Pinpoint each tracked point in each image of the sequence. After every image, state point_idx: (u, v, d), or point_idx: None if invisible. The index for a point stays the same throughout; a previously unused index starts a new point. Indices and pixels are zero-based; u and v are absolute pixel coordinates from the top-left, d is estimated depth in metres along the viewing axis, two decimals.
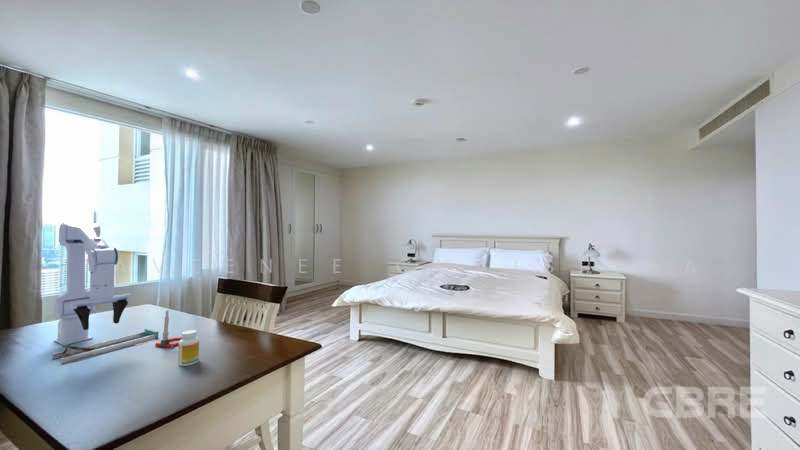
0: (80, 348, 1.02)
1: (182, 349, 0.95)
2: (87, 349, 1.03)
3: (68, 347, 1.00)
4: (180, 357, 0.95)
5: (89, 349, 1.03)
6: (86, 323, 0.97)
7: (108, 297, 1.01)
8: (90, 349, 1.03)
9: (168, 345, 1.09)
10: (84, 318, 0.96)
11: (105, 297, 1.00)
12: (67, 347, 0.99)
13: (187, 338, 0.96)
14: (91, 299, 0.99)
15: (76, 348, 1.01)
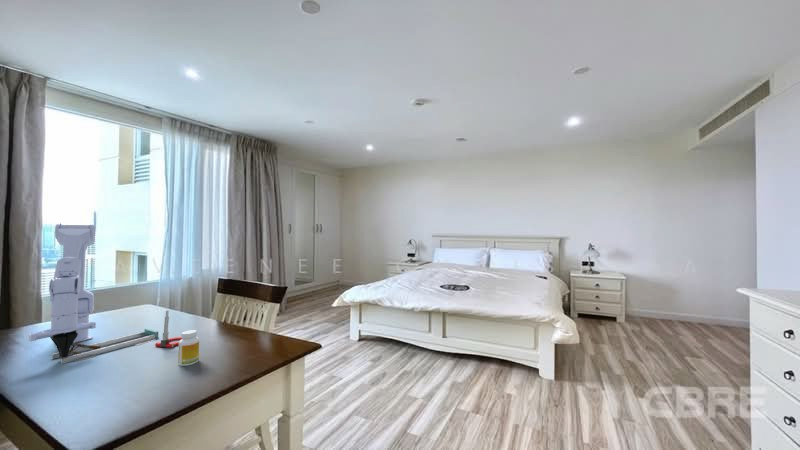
0: (87, 346, 1.03)
1: (182, 349, 0.95)
2: (93, 347, 1.04)
3: (75, 345, 1.01)
4: (180, 357, 0.95)
5: (95, 347, 1.05)
6: (62, 351, 0.97)
7: (70, 327, 0.98)
8: (96, 347, 1.05)
9: (168, 345, 1.09)
10: (60, 346, 0.97)
11: (67, 327, 0.97)
12: (74, 345, 1.01)
13: (187, 338, 0.96)
14: (52, 330, 0.96)
15: (83, 346, 1.02)
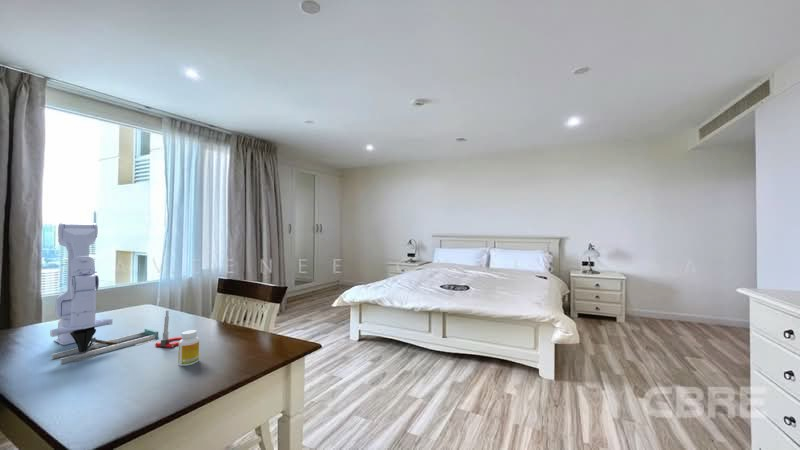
0: (104, 342, 1.07)
1: (182, 349, 0.95)
2: (110, 343, 1.08)
3: (93, 341, 1.05)
4: (180, 357, 0.95)
5: (112, 343, 1.08)
6: (82, 346, 1.01)
7: (89, 323, 1.02)
8: (113, 343, 1.08)
9: (168, 345, 1.09)
10: (80, 342, 1.01)
11: (86, 323, 1.01)
12: (92, 340, 1.05)
13: (187, 338, 0.96)
14: (72, 326, 1.00)
15: (100, 342, 1.06)
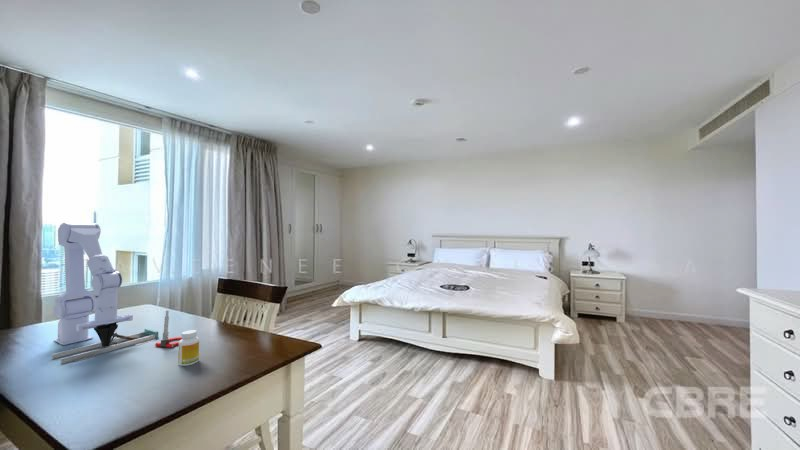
0: (124, 337, 1.11)
1: (182, 349, 0.95)
2: (130, 338, 1.12)
3: (114, 335, 1.10)
4: (180, 357, 0.95)
5: (132, 339, 1.13)
6: (105, 341, 1.06)
7: (111, 319, 1.07)
8: (133, 339, 1.13)
9: (168, 345, 1.09)
10: (103, 336, 1.06)
11: (109, 319, 1.06)
12: (114, 335, 1.10)
13: (187, 338, 0.96)
14: (96, 321, 1.05)
15: (121, 337, 1.11)
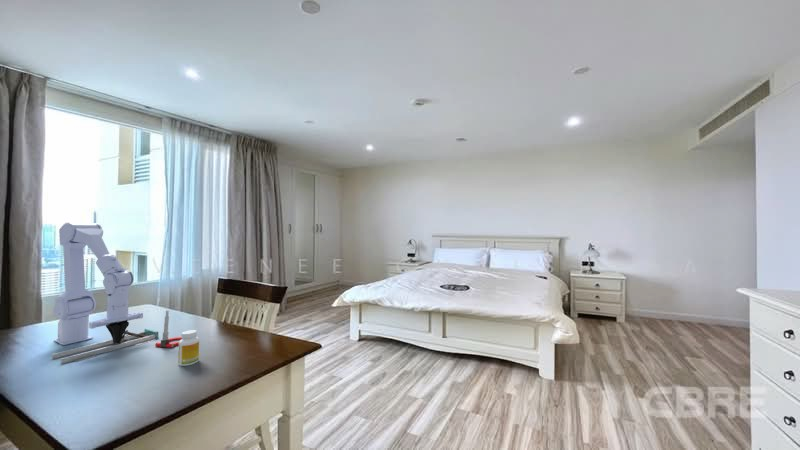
0: (135, 334, 1.14)
1: (182, 349, 0.95)
2: (141, 336, 1.15)
3: (125, 333, 1.13)
4: (180, 357, 0.95)
5: (142, 336, 1.15)
6: (117, 338, 1.09)
7: (123, 316, 1.10)
8: (143, 336, 1.16)
9: (168, 345, 1.09)
10: (115, 333, 1.09)
11: (120, 317, 1.09)
12: (125, 333, 1.13)
13: (187, 338, 0.96)
14: (108, 319, 1.08)
15: (132, 334, 1.14)
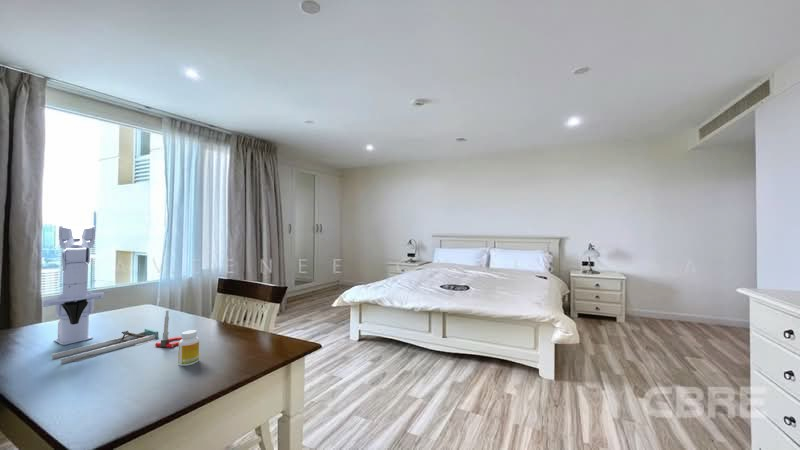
0: (135, 335, 1.14)
1: (182, 349, 0.95)
2: (141, 336, 1.15)
3: (126, 333, 1.13)
4: (180, 357, 0.95)
5: (143, 336, 1.16)
6: (73, 318, 1.02)
7: (81, 295, 1.03)
8: None
9: (168, 345, 1.09)
10: (71, 313, 1.02)
11: (77, 295, 1.02)
12: (125, 333, 1.13)
13: (187, 338, 0.96)
14: (63, 297, 1.01)
15: (132, 335, 1.14)
